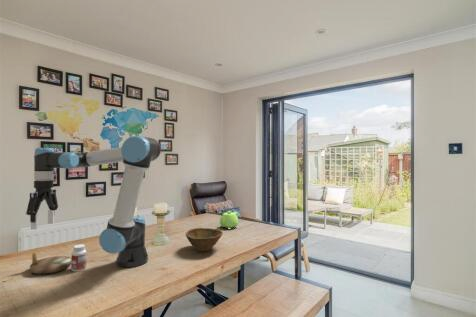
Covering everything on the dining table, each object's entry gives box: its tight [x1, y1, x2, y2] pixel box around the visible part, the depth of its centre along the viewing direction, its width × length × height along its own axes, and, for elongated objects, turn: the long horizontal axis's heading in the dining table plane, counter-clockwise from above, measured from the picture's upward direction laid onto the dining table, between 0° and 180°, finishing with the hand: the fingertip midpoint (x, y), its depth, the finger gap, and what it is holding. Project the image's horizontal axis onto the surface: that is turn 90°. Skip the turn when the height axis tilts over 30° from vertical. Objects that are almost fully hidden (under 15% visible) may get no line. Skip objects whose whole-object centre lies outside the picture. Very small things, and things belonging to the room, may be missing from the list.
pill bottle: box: [70, 243, 87, 272], centre depth 127 cm, size 6×6×11 cm
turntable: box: [29, 252, 71, 275], centre depth 127 cm, size 16×16×7 cm
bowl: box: [185, 227, 224, 252], centre depth 158 cm, size 22×23×10 cm
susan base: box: [42, 269, 64, 275], centre depth 127 cm, size 12×12×1 cm
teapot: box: [219, 210, 239, 229], centre depth 208 cm, size 20×13×13 cm
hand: (42, 226), depth 128 cm, fingers open, 10 cm apart
